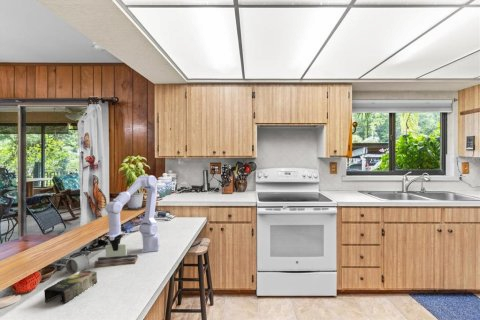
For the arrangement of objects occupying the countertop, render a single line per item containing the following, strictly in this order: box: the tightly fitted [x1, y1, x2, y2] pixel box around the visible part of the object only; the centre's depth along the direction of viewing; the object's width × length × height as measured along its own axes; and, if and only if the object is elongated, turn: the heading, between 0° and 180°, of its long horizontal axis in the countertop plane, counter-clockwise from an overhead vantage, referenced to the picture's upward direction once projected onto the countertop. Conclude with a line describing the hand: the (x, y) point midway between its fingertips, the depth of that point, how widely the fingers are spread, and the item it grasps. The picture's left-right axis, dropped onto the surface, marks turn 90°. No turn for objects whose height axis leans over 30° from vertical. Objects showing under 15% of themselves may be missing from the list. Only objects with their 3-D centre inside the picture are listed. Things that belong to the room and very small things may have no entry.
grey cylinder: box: [65, 255, 90, 276], centre depth 148 cm, size 11×8×8 cm
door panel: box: [105, 242, 128, 257], centre depth 157 cm, size 10×2×6 cm, turn 99°
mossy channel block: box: [43, 270, 98, 304], centre depth 126 cm, size 20×10×6 cm, turn 168°
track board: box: [93, 253, 139, 269], centre depth 158 cm, size 20×9×2 cm, turn 99°
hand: (116, 249), depth 157 cm, fingers closed on door panel, 2 cm apart
